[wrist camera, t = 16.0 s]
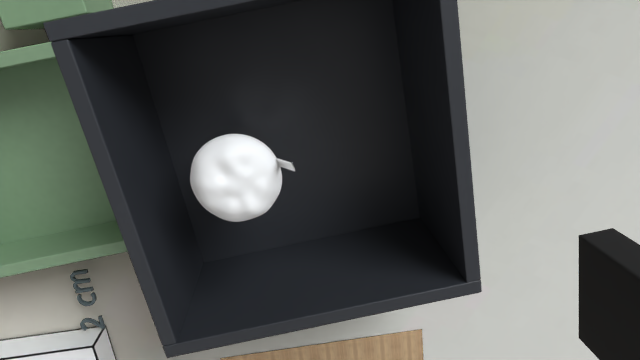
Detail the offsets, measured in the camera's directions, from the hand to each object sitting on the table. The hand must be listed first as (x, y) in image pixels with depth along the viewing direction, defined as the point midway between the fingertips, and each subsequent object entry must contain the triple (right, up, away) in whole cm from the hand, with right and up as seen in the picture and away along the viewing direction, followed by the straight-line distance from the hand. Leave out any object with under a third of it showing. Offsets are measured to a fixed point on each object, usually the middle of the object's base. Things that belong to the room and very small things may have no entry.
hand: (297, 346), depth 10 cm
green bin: (-18, +6, +20) cm, 27 cm away
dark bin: (-2, +7, +21) cm, 22 cm away
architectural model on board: (+2, -21, +31) cm, 38 cm away
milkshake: (-4, +7, +21) cm, 22 cm away
